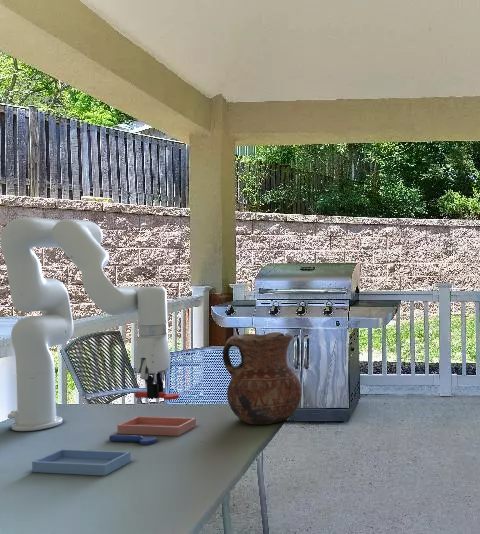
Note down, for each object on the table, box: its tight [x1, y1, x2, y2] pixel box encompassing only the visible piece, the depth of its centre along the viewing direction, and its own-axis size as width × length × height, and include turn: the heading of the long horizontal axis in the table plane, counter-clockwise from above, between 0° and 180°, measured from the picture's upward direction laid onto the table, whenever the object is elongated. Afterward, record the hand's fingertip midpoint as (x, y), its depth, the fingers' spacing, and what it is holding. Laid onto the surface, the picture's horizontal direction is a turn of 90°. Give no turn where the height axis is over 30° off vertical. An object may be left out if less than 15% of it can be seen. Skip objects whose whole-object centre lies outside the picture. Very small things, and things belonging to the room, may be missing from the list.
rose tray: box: [116, 416, 197, 437], centre depth 168 cm, size 18×9×2 cm, turn 80°
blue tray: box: [31, 448, 132, 477], centre depth 139 cm, size 18×9×2 cm, turn 80°
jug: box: [222, 331, 303, 426], centre depth 177 cm, size 22×21×25 cm
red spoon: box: [134, 391, 180, 401], centre depth 168 cm, size 13×4×2 cm, turn 80°
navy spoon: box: [108, 434, 158, 446], centre depth 158 cm, size 13×4×2 cm, turn 80°
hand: (155, 396), depth 168 cm, fingers closed on red spoon, 1 cm apart
